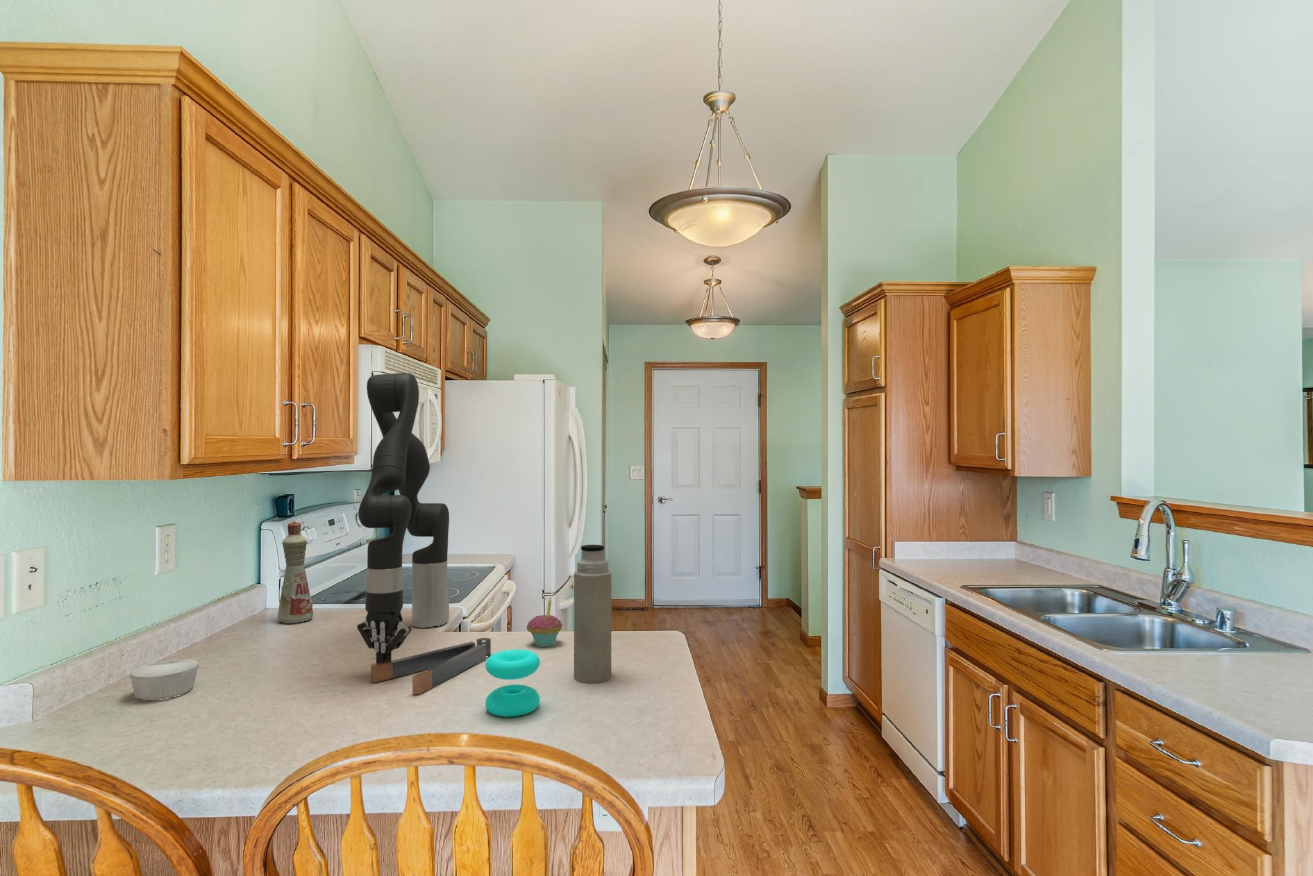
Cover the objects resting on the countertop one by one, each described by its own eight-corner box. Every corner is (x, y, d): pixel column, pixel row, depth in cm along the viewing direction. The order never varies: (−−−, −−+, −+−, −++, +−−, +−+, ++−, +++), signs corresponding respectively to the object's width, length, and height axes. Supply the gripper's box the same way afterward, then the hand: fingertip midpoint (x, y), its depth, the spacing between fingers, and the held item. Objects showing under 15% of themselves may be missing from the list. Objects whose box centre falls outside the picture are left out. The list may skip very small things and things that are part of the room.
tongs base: (481, 653, 164) (481, 637, 164) (494, 654, 162) (494, 638, 162) (404, 693, 137) (404, 674, 137) (419, 695, 136) (419, 676, 136)
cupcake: (568, 642, 172) (568, 594, 172) (546, 651, 165) (546, 601, 165) (542, 637, 177) (543, 590, 177) (519, 645, 170) (519, 597, 170)
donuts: (478, 652, 131) (528, 644, 137) (478, 705, 131) (528, 695, 136) (496, 667, 123) (548, 658, 128) (495, 723, 123) (548, 712, 128)
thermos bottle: (594, 668, 153) (594, 541, 153) (619, 676, 147) (619, 545, 148) (566, 677, 147) (566, 545, 147) (591, 686, 142) (591, 549, 142)
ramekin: (192, 679, 146) (192, 654, 146) (204, 693, 138) (204, 667, 138) (125, 693, 138) (125, 666, 138) (134, 708, 130) (134, 680, 130)
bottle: (290, 616, 198) (290, 519, 199) (319, 617, 198) (320, 519, 198) (270, 624, 190) (270, 522, 190) (301, 625, 189) (301, 523, 189)
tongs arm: (471, 655, 161) (471, 640, 161) (475, 656, 160) (475, 642, 160) (370, 681, 144) (370, 664, 144) (374, 683, 143) (374, 666, 143)
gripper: (421, 587, 150) (420, 667, 149) (372, 582, 154) (371, 660, 154) (397, 594, 143) (396, 678, 142) (347, 589, 147) (345, 670, 147)
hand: (383, 668), depth 148 cm, fingers closed
